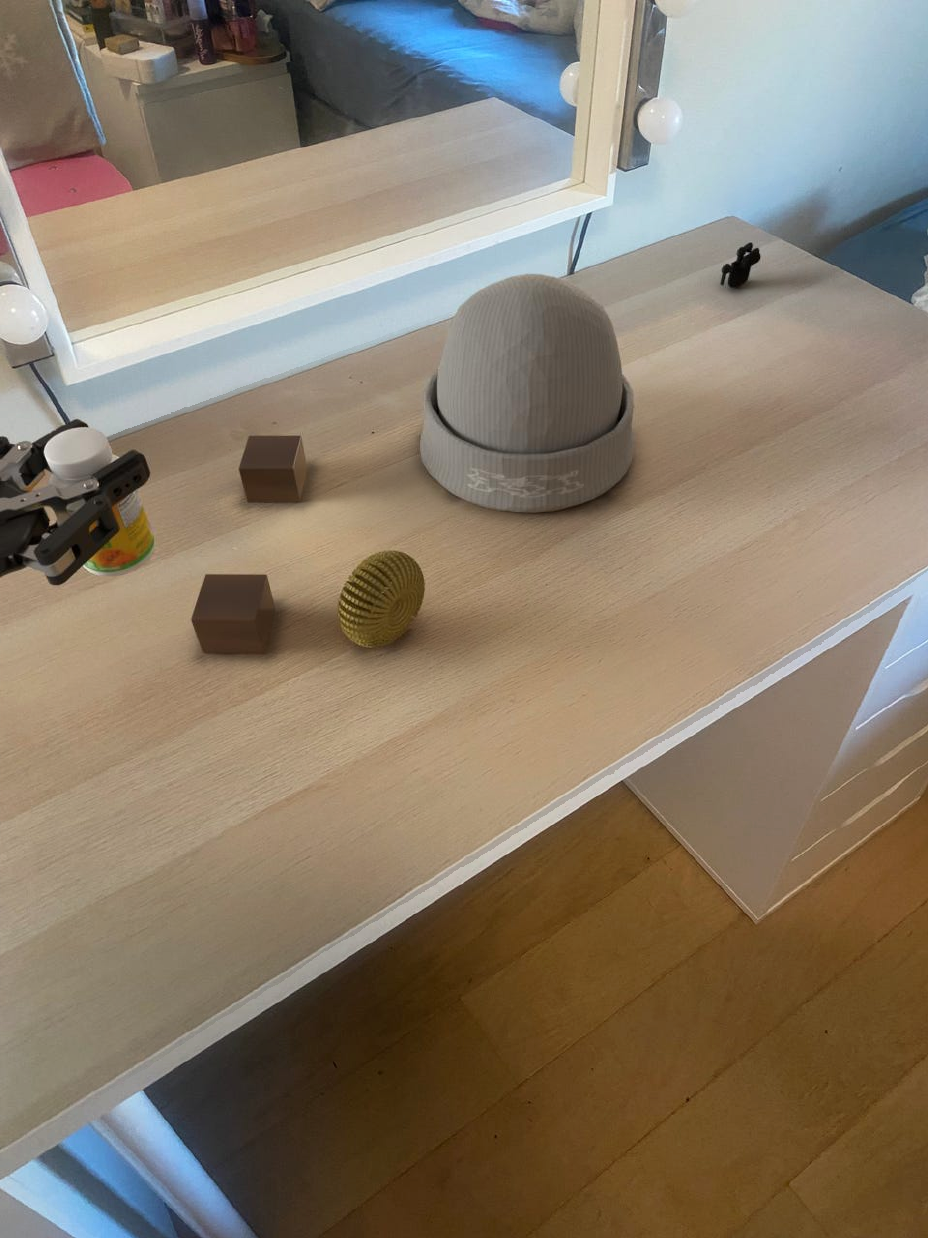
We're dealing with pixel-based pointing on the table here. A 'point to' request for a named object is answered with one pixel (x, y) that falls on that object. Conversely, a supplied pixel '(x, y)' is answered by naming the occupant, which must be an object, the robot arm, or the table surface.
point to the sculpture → (381, 599)
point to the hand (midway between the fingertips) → (114, 446)
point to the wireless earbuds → (740, 266)
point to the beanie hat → (529, 399)
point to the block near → (234, 613)
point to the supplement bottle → (134, 543)
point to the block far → (273, 468)
